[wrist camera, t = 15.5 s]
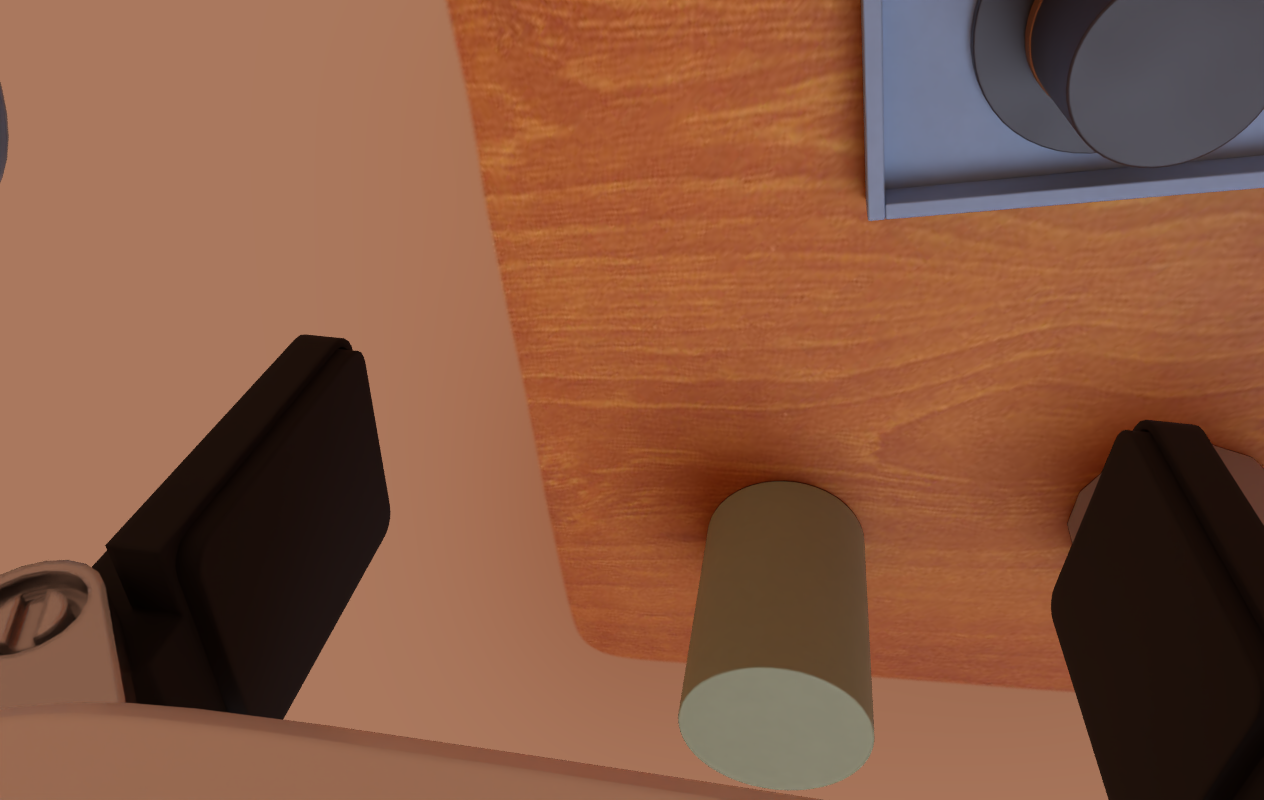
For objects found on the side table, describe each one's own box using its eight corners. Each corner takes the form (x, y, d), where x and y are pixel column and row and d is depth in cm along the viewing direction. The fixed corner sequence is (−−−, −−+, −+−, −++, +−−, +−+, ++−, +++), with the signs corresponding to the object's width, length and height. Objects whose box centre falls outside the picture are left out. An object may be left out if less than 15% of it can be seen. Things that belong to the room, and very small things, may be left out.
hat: (915, 56, 30) (935, 113, 25) (1119, -199, 25) (1197, -197, 20) (1102, 194, 32) (1159, 276, 26) (1326, -24, 27) (1452, 22, 22)
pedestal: (678, 546, 45) (642, 732, 36) (768, 454, 41) (751, 638, 32) (799, 617, 47) (793, 813, 38) (898, 535, 42) (917, 733, 33)
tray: (866, 201, 34) (867, 221, 32) (857, -141, 28) (859, -137, 26) (1330, 159, 30) (1359, 180, 28) (1435, -244, 24) (1480, -247, 22)
